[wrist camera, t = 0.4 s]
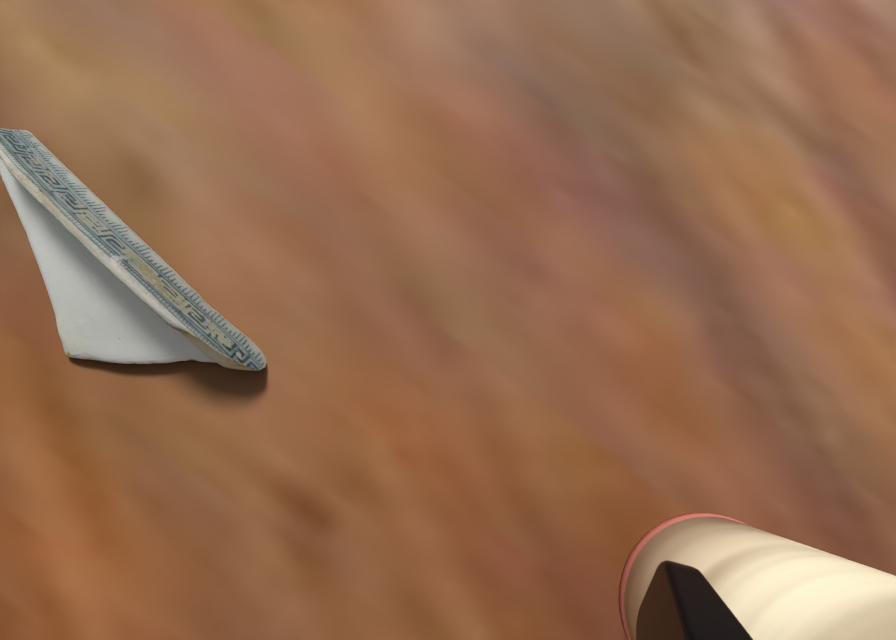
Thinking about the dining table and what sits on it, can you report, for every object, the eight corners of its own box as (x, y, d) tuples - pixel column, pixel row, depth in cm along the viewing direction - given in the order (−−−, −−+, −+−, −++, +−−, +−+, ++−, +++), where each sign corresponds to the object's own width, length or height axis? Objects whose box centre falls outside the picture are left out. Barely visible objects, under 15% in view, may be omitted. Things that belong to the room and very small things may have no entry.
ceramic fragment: (276, 362, 24) (237, 347, 20) (175, 465, 23) (116, 468, 20) (45, 132, 26) (-28, 80, 23) (-51, 220, 26) (-143, 182, 22)
